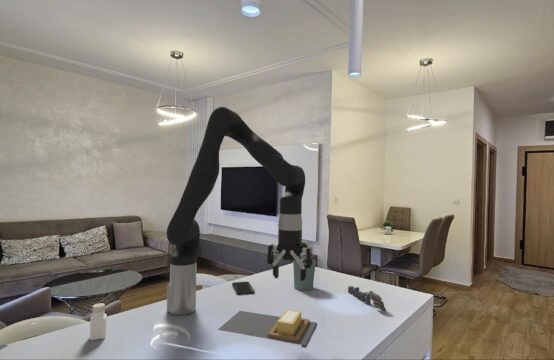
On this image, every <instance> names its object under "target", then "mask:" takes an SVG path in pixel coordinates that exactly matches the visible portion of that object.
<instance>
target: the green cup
mask: <svg viewBox="0 0 554 360" xmlns="http://www.w3.org/2000/svg"><path fill="white" fill-rule="evenodd" d="M303 260H304V262H305V263H306V264H307V258H303ZM316 263H317V262H316V261H315V260H314V259H312V266H311V267H310V268H307V269H306V279H305V280H304V281H300V277H301V267H300V266H299V264H298V263H297V262H296V261H295V260H294V261H292V266H293V267H292V268H293V288H294V289H295V290H296V289H297V290H296V291H299V290H300V291H301V292H309V290H310V291H312V290H313V289H314V284H315V283H314V281H315V280H314V279H315V272H316V265H317V264H316Z"/></svg>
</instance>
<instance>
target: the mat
mask: <svg viewBox="0 0 554 360" xmlns="http://www.w3.org/2000/svg"><path fill="white" fill-rule="evenodd" d="M280 317H281V316H277V315H272V314H264V313H256V312H252V311H244V310H239V311H238V312H236V313H235V314H234V315H233V316H231V317H230V318H229V319H228V320H227V321H226V322H225V323H223V325H221V326H219V328H217V330H219V331H222V332H230V333H233V334H240V335H246V336H252V337H257V338H262V339H267V340H272V341H274V340H275V341H280V342H285V343H289V344H290V343H291V344H296V345H300V347H303V348H305V347H306V346H307V345H308V342H309V340H310V338H311V336H312V334H313V332H314V331H315V328H316V327H317V322H315V321H311V320H310V319H309V318H303V317H301V325H300V327H299V329H298V330H297V332H296V333H295V335H294V336H290V335H284V334H278V333H277V321H278V320H279V319H280Z"/></svg>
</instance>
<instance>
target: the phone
mask: <svg viewBox="0 0 554 360" xmlns="http://www.w3.org/2000/svg"><path fill="white" fill-rule="evenodd" d="M231 285H232V288H233V290H234V292H235V294H236V296H243V295H253V294H255V293H256V292H255V289H254V288H253V286H252V285H251V283H250V281H237V282H235V281H233V282H232V283H231Z"/></svg>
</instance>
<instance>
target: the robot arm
mask: <svg viewBox="0 0 554 360" xmlns="http://www.w3.org/2000/svg"><path fill="white" fill-rule="evenodd" d="M205 128H206V129H205V133H204V135H203V139H202V142H201V145H200V148H199V151H198V154H197V156H196V159H195V162H194V164H193V167H192V169H191V172H190V174H189V177H188V180H187V183H186V185H185V188H184V191H183V193H182V195H181V198H180V201H179V203H178V205H177V207H176V209H175V212H174V214H173V215H172V217H171V219H170V221H169V223H168V226H167V227H166V228H167V229H166V239H167V241H168V242H169V244H170V245H172V246H175V248H174V251H173V252H172V253H171V255H170V257H169V264H170V265H169V283H168V284H167V285H166V286H167V287H166V290H167V291H166V312H168V313H169V314H171V315H175V316H183V315H189V314H192V313H194V312H195V311H196V307H197V304H196V302H197V301H196V300H197V263H198V262H197V258H198V256H199V253H200V252H199V251H200V238H201V236H200V235H201V231H200V226H199V223H198V221H197V220H196V215H197V213H198V211H199V210H200V208H202V205H203V204H204V203H205V201H206V200H207V199H208V198H209V196H210V194H211V193H212V192H213V190H214V187H215V185H216V182H217V180H218V177H219V174H220V150H221V146H222V143H223V141H224V138H225V137H228V138H230V139H232V140H234V141H236V142H237V143H239V144H240V145H241V146H243V147H244V149H245V150H246V151H247V152H248V153H249V155H250V156H251V157H252V158H253V159H254V160H255V161H256V162H257V163H258V164H260V166H262V167H263V168H264V169H265V170H267V171H268V173H269V174H270V175H271V177H272V178H273V179H274V180H275V181H276V182H277V183H278V184H280V185H281V186H283V187H284V193H283V195H282V196H281V197H280V199H279V213H278V215H279V216H278V222H277V227H278V231H277V232H278V234H277V243H278V244H277V245H276V244H274V243H272V244H269V245H268V247H267V256H266V257H267V258H266V263H267V264H269V265H271V266H272V276H273V277H274V278H275V279H279V272H280V269H279V267H280V265H279V264H280V262H281V261H282V260H283V261H291V262H293V261H294V260H295V261H296V262H297V263H298V264H299V266H300V267H301V277H300V281H304V280H305V279H306V269H307V268H310V267H311V266H312V260H313V249H312V247H311V246H309V247H303V241H302V240H303V217H302V212H303V211H302V210H303V209H302V208H303V207H302V206H303V205H302V203H303V202H302V201H303V200H302V199H303V195H304V192H305V187H306V186H305V185H306V174H305V171H304V168H302V167H301V166H299V165H293V164H291V163H289V162H288V161H287V160H286V159H284V156H283V154H282V153H281V152H280V151H278V150H277V149H276V148H274V147H273V146H272V145H271V144H270V143H268V141H266V140H265V139H263V138H261V136H259V135H258V134H257V133H256V132H254V131H253V130H252V129H251V128H250V127H249V125H248V124H247V123H246V122H245V121H244V119H242V117H241V116H240V115H239V114H238V113H236V112H235V111H233V110H232V109H230V108H228V107H226V106H222V105H221V106H218V107H216V108H215V109H214V110H212V112H211V114H210V116H209V118H208V122H207V124H206V127H205ZM276 251H277V252H278V254H279V255H277V256H276V258H275V259H274V255H275V254H274V252H276ZM302 253H304V255H305V256H306V259H307V264H306V263H305V262H304V260H303V259H304V258H303V257H302Z"/></svg>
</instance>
